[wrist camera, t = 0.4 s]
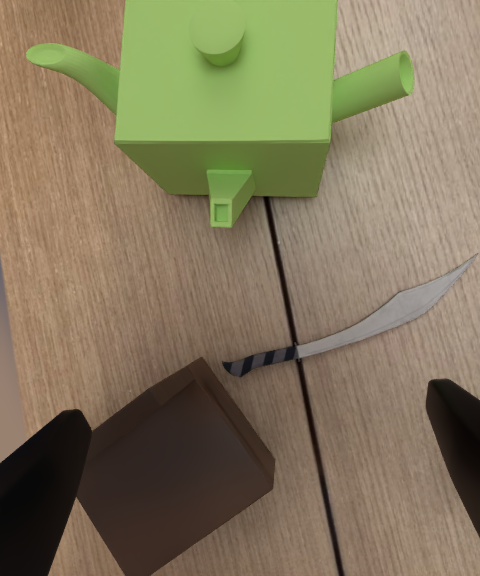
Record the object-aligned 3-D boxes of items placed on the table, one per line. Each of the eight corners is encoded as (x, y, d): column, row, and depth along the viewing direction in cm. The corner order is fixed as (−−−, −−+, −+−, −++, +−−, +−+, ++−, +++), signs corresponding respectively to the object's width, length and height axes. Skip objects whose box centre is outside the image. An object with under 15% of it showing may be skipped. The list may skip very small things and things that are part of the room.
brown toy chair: (275, 459, 25) (267, 562, 15) (156, 544, 26) (73, 694, 16) (202, 356, 26) (149, 388, 16) (90, 441, 27) (-27, 520, 17)
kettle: (116, 143, 28) (2, 33, 17) (244, 12, 27) (214, -196, 16) (244, 278, 26) (212, 255, 15) (387, 141, 25) (468, 6, 14)
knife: (235, 391, 25) (233, 394, 24) (222, 360, 26) (220, 362, 25) (494, 285, 23) (503, 284, 22) (477, 252, 24) (485, 250, 23)
